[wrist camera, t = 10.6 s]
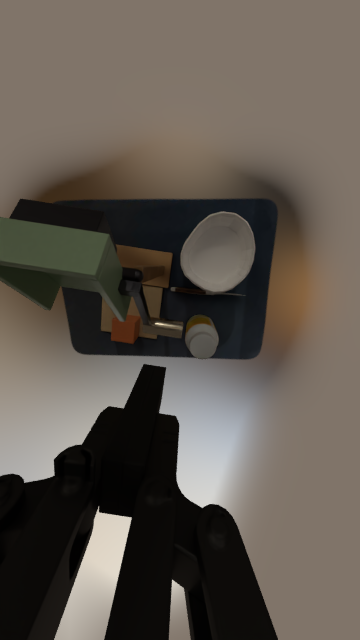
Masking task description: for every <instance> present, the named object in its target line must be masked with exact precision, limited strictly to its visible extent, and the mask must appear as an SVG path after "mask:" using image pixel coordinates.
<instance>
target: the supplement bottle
mask: <svg viewBox="0 0 360 640" xmlns="http://www.w3.org/2000/svg"><path fill="white" fill-rule="evenodd" d="M185 342H186V346H187V347H188V349H189V350H190V352H191V353H192V355H193V356H194V357H196V358H198V359H207V358H210V357H211V356H212V355H213V354H214V353H215V351H216V347H217V345H218V342H219V337H218V334H217V331H216V329H215V326H214V323H213V321H212V320H211V319H210V318H209V317H207V316H205V315H195V316H193V317H191V318H190V319H189V320H188V322H187V325H186V336H185Z"/></svg>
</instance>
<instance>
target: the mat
mask: <svg viewBox="0 0 360 640" xmlns="http://www.w3.org/2000/svg"><path fill="white" fill-rule="evenodd" d="M143 291H144V295H145V299H146V303H147V307H148V310H149V314H150V317H157V318H159V315H160V307H161V299H162V291H163V288H160V287H154V286H148V285H143ZM127 315H133V316H139V317H141V316H140V314H139V311H138V309H137V306H136V304H135V301H134V298H133V297H131V301H130V305H129V309H128V313H127ZM115 317H116V315H115V314H114V313H113V311H112V310H111V308H110V307H109V306H108V304H107V303H106V301H105V300H104V299H103V297H102V321H101V331H107V332H112V319H113V318H115ZM142 327H143V322H142V319H141V318H140V328H139V337H146V338H152V339H157V335H156V334H149V333H143V331H142Z"/></svg>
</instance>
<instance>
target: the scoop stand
mask: <svg viewBox="0 0 360 640" xmlns="http://www.w3.org/2000/svg"><path fill="white" fill-rule="evenodd" d="M116 246H117V256H118V258H119V261H120V264H121V266H122V267H128V268H134V269H139V270H141V271H142V272H143V274H144V278H143V280H142V281H141V282H142V284H145V285H152V286H158V287H164V288H168V287H169V279H170V272H171V264H172V257H173V254H172V253H167V252H160V251H154V250H148V249H141V248H135V247H128V246H122V245H116Z"/></svg>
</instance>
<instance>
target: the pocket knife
mask: <svg viewBox="0 0 360 640" xmlns="http://www.w3.org/2000/svg"><path fill="white" fill-rule="evenodd" d="M171 291H175V292H184V293H191V294H199V295H202V294H203V295H214V294H227V295H240V294H231V293H212V292H209V291H206V290H202V289H193V288H182V287H171ZM245 296H246V295H245Z"/></svg>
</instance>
